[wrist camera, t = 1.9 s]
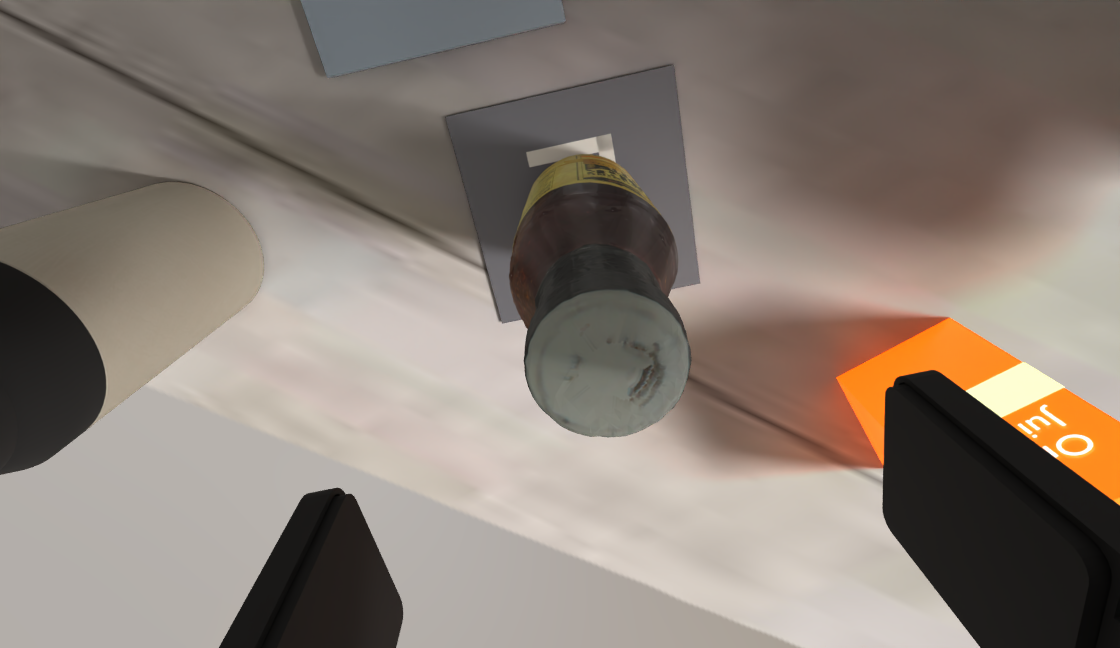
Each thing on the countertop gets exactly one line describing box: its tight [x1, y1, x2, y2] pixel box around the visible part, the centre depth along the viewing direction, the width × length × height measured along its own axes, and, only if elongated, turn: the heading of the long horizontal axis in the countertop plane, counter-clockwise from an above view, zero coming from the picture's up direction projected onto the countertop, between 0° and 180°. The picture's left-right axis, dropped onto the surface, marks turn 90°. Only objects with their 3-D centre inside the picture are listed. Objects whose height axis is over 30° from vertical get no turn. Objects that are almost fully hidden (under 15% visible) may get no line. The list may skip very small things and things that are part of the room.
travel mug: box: [0, 182, 264, 475], centre depth 25 cm, size 8×8×18 cm
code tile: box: [445, 65, 700, 323], centre depth 32 cm, size 12×12×1 cm
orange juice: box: [836, 318, 1120, 505], centre depth 28 cm, size 8×9×20 cm
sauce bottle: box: [509, 154, 691, 437], centre depth 23 cm, size 6×6×20 cm
